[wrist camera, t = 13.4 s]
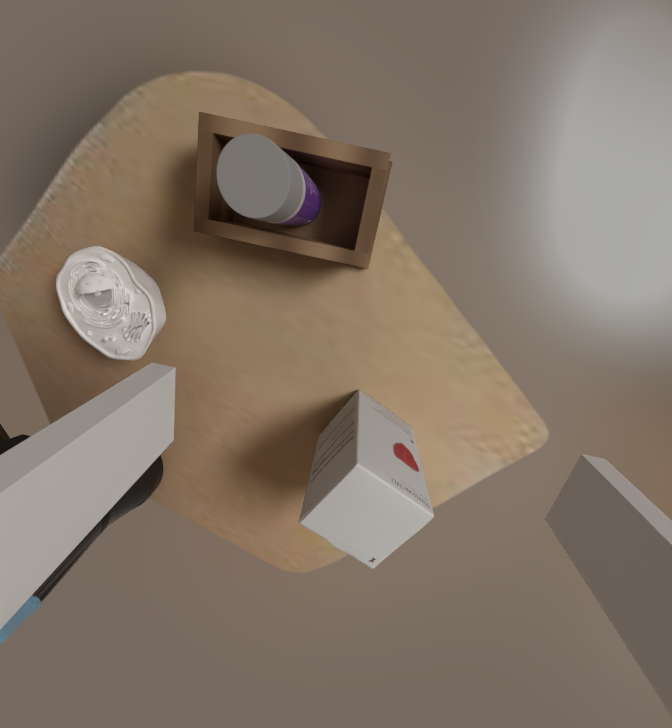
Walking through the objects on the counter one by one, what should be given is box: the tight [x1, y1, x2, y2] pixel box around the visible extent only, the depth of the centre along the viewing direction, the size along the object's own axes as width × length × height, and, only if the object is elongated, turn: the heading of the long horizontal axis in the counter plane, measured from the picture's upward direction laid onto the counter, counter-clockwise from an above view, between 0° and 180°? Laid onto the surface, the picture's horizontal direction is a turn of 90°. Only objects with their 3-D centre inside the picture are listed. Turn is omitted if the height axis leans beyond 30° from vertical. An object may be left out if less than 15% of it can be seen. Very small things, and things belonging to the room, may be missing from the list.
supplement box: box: [299, 390, 434, 569], centre depth 37 cm, size 9×9×15 cm
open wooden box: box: [194, 112, 392, 269], centre depth 32 cm, size 16×10×7 cm, turn 79°
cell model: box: [56, 246, 166, 360], centre depth 37 cm, size 10×12×7 cm
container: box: [216, 133, 322, 226], centre depth 27 cm, size 5×5×15 cm
